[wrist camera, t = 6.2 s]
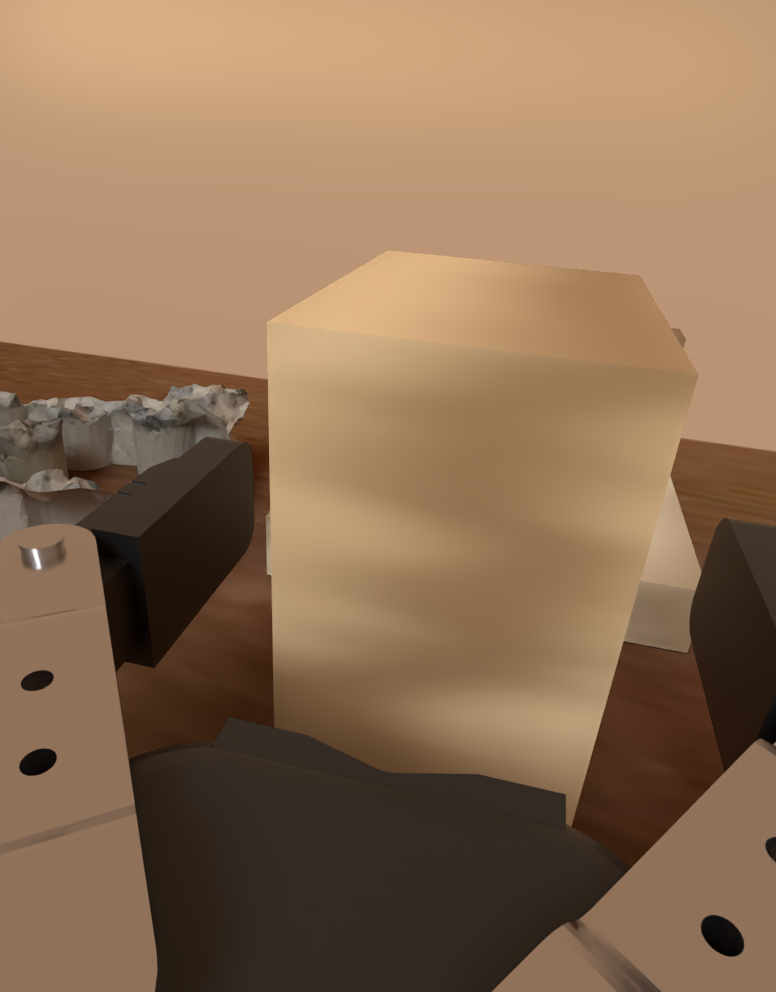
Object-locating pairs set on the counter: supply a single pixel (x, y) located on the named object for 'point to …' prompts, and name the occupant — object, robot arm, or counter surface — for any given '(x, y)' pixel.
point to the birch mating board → (652, 578)
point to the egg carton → (97, 446)
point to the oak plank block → (465, 509)
